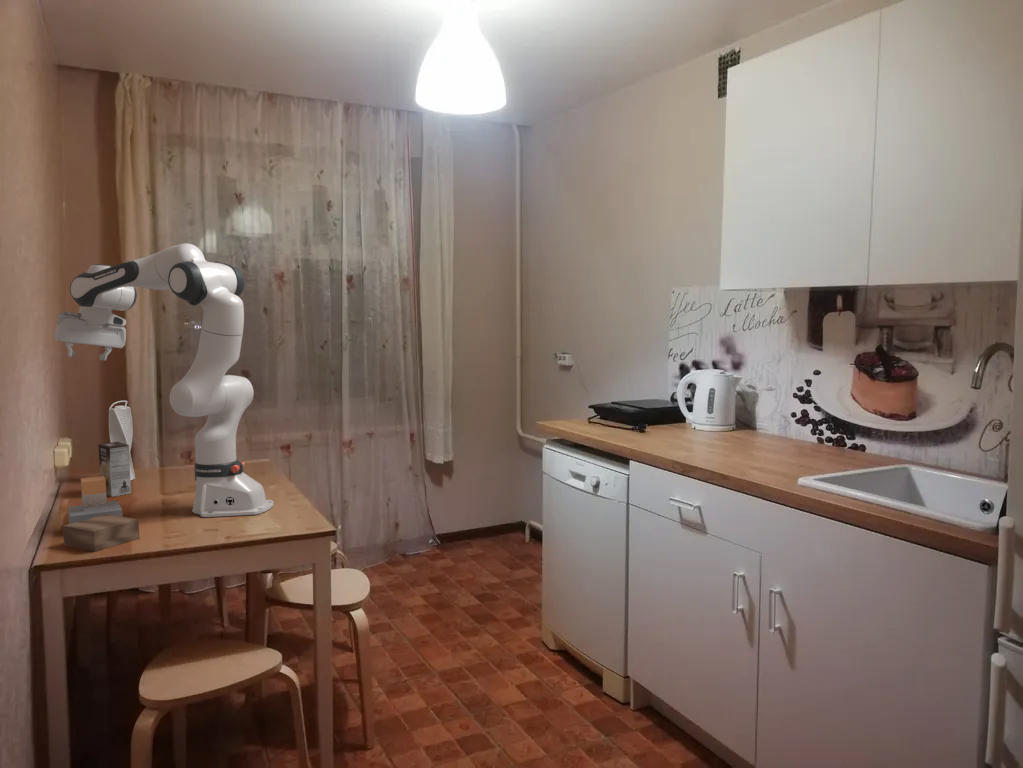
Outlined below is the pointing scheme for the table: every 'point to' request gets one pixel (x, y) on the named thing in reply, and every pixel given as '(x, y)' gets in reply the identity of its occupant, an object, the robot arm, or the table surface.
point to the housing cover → (93, 485)
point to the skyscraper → (121, 428)
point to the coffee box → (115, 468)
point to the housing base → (94, 502)
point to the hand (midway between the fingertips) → (87, 358)
